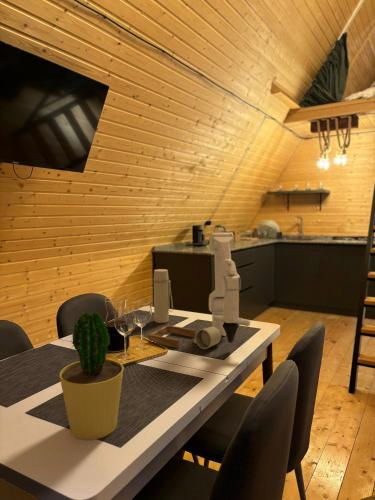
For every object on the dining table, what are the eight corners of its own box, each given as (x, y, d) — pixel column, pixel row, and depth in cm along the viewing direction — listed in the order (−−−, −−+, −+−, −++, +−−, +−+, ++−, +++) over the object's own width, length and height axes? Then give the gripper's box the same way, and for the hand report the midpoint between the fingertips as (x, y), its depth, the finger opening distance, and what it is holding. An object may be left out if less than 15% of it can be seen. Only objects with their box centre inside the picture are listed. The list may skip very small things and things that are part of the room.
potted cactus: (132, 412, 103) (130, 303, 100) (112, 448, 88) (108, 320, 85) (78, 408, 106) (74, 301, 102) (50, 441, 91) (44, 317, 87)
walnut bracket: (167, 331, 171) (167, 325, 170) (195, 336, 164) (195, 329, 164) (148, 342, 158) (148, 334, 157) (177, 347, 151) (177, 340, 150)
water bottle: (152, 323, 183) (151, 271, 180) (156, 318, 190) (155, 268, 188) (171, 324, 181) (170, 271, 178) (174, 319, 189) (173, 269, 186)
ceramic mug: (222, 345, 154) (222, 326, 153) (210, 351, 147) (210, 331, 147) (200, 340, 160) (200, 322, 159) (189, 345, 154) (188, 326, 153)
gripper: (209, 307, 146) (209, 341, 148) (245, 311, 139) (245, 348, 141) (217, 303, 152) (216, 336, 154) (252, 307, 145) (251, 342, 147)
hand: (230, 341), depth 148 cm, fingers closed
